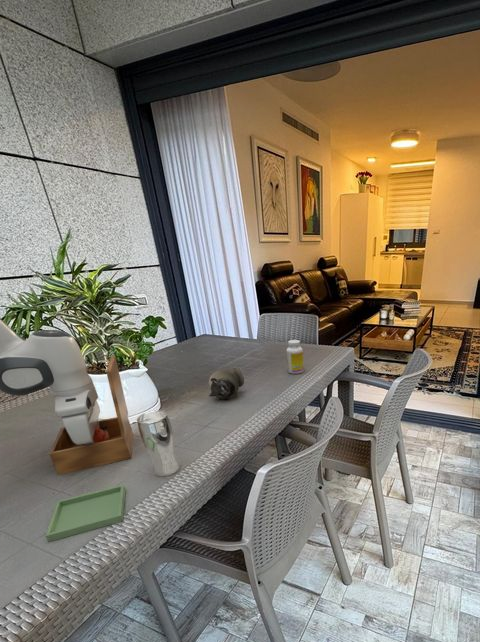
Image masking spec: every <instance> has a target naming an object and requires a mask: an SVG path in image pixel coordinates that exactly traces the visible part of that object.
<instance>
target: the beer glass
mask: <svg viewBox="0 0 480 642" xmlns="http://www.w3.org/2000/svg"><path fill="white" fill-rule="evenodd" d="M136 422H137V427H138V432H139V435H140V438H141V441H142V443H143V445H144V447H145V449H146V450H147V452H148V454H149V456H150V458H151V459H152V463H153V470H154V475H156V476H158V477H168V476H172V475H174V474H176V473H177V472H179V470H180V469H181V464H180V461H179V460H178V458H177V455H176V451H175V437H174V436H175V435H174V431H173V427H172V424H171V421H170V418H169V416H168V413H167V412H166V411H165V410H158V409H157V410H151V411H147V412H144V413H142V414H140V415H138V417H137V418H136Z"/></svg>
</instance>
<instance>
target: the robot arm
mask: <svg viewBox="0 0 480 642" xmlns="http://www.w3.org/2000/svg"><path fill="white" fill-rule="evenodd" d="M47 388H49V389H50V390H51V393H52V395H53V399H54V412H55V414H56V416H57V418H61V421H62V424H63V427H65V428H66V430H67V432H68V434H69V436H70V437H71V439H72V441H73V442H74V443H75V444H76V445H81V444H84V445H88V444H93V443H94V441H93V436H94V432H95V428H96V426H98V427H99V417H100V414H101V408H100V405H99V402H98V399H99V395H98V391H97V389H96V387H95V384H94V381H93V379H92V376H90V374H89V372H88V371H87V363H86V360H85V357H84V355H83V353H82V351H81V348H80V346H79V343H78V342H77V341H76V339H75V338H74V337H73V336H72V335H71V334H69V333H68V332H66V331H64V330H57V329H42V330H36V331H34V332H32V333H31V334H30V336H29V337H28V338H25V337H23V336H21V335H20V334H18V333H17V332H16V331H15V330H13V329H12V327H10V326H9V325H8V324H7V323H6V322H5V321H3V319H2V318H0V392H1V393H3V394H7V395H11V396H16V397H21V396H27V395H30V394H33V393H37V392H40V391H42V390H45V389H47Z"/></svg>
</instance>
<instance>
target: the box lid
mask: <svg viewBox="0 0 480 642" xmlns="http://www.w3.org/2000/svg"><path fill="white" fill-rule="evenodd" d="M105 373H106V377H107V381H108V384H109V389H110V394H111V398H112V402H113V407H114V409H115V414H116V417H117V419H118V423H119V427H120V431H121V435H122V437H124V436H126V428H127V419H128V420H129V411H128V407H127V402H126V398H125V393H124V388H123V384H122V379H121V376H120V370H119V366H118V362H117V357H116V354H111V355H110V358H109V361H108V364H107V368H106V371H105Z"/></svg>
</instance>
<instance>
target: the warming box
mask: <svg viewBox="0 0 480 642" xmlns="http://www.w3.org/2000/svg"><path fill="white" fill-rule="evenodd" d="M98 421H99V427H100V428H103V427H104V426H106V425H107V426H109V427H107V428H106V429H105V430H106V431H107V432H108V433H109V434H110V440H107V441H102V442H98V443H93V444H88V445H82V444H81V445H76V444H75V443H74V442H73V441H72V439H71V437H70V436H69V434H68V432H67V430H66V428H65V426H63V427H60V429H59V431H58V433H57V436H56V437H55V439H54V442H53V444H52V446H51V448H50V450H49V453H48V455H49V457H50V460H51V462H52V463H53V465H54V467H55V470H56V472H57V473H58V475H66V474H70V473H73V472H77V471H83V470H87V469H91V468H95V467H100V466H104V465H108V464H112V463H117V462H122V461H125V460H130V459H132V458H133V457H132V455H133V441H134V432H133V428H132V426H131V422H130V420H129V418H128V419H127V428H126V436H124V437H122V435H121V431H120V427H119V423H118V419H117V416H116V417H109V418H106V419H100V420H99V419H98Z"/></svg>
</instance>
